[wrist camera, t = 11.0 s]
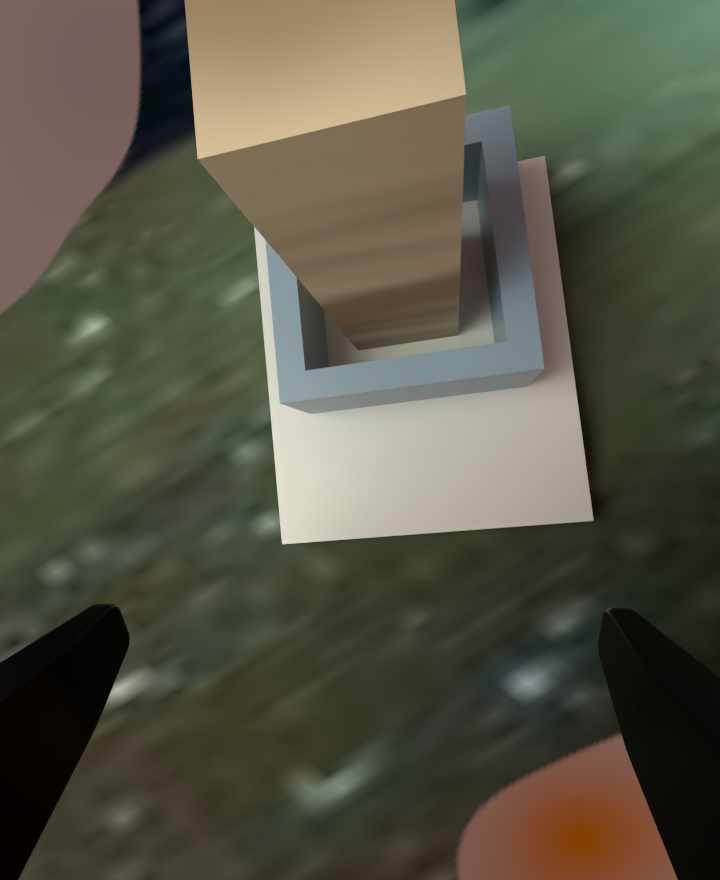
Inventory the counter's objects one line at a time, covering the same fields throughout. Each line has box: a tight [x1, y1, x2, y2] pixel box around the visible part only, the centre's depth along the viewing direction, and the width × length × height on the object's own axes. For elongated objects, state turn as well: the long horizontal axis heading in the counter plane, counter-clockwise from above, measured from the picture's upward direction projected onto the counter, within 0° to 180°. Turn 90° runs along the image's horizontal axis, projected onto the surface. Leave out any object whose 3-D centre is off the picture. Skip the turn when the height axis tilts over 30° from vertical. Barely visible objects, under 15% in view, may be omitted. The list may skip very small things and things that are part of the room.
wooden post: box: [185, 0, 466, 351], centre depth 13 cm, size 4×4×12 cm
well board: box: [254, 105, 594, 544], centre depth 18 cm, size 14×12×4 cm
